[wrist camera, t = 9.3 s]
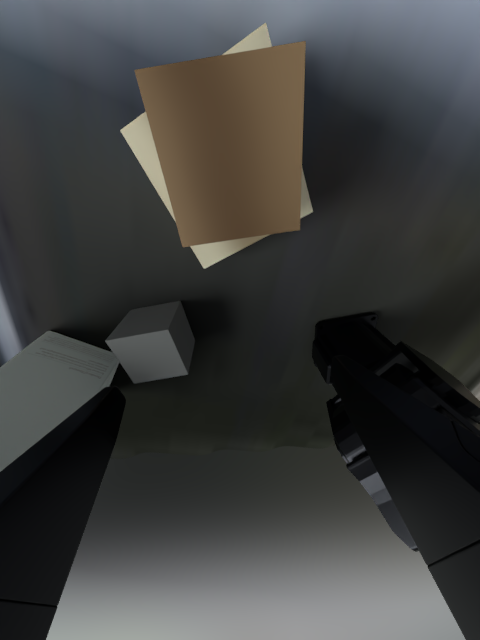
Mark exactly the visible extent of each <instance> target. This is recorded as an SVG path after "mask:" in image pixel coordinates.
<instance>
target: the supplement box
mask: <svg viewBox="0 0 480 640" xmlns="http://www.w3.org/2000/svg"><path fill="white" fill-rule="evenodd" d="M118 364H119V361H118V359H117V358H116V356H115V355H114V353H112V352H110V351H107V350H104V349H101V348H98V347H96V346H93V345H90V344H87V343H85V342H82V341H79V340H76V339H73V338H70V337H67V336H64V335H62V334H59V333H55V332H52V331H47V332H46V333H44V334H43V335H42V336H40V337H39V338H38V339H36V340H35V341H34V342H32V343H31V344H30V345H29V346H27V347H26V348H25V349H23V350H22V351H21V352H20V353H18V354H17V355H16V356H14V357H13V358H12V359H11V360H9V361H8V362H7V363H5V364H4V365H3V366H1V367H0V472H1V471H2V470H3V469H4V468H6V467H7V466H8V465H9V464H10V463H12V462H13V461H14V460H15V459H17V458H18V457H19V456H20V455H22V454H23V453H24V452H25V451H27V450H28V449H29V448H30V447H32V446H33V445H34V444H35V443H36V442H38V441H39V440H40V439H41V438H43V437H44V436H45V435H46V434H48V433H49V432H50V431H51V430H53V429H54V428H55V427H56V426H57V425H59V424H60V423H61V422H62V421H64V420H65V419H66V418H67V417H69V416H70V415H71V414H72V413H74V412H75V411H76V410H77V409H79V408H80V407H81V406H82V405H83V404H85V403H86V402H87V401H88V400H90V399H91V398H92V397H93V396H95V395H96V394H97V393H98V392H100V391H101V390H102V389H103V388H105V387H109V386H110V384H111V381H112V379H113V377H114V374H115V372H116V369H117V367H118Z"/></svg>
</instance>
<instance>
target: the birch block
mask: <svg viewBox="0 0 480 640" xmlns="http://www.w3.org/2000/svg"><path fill="white" fill-rule="evenodd" d="M267 47H272V45H271V41H270V37H269V33H268V29H267V25H266V23H265V24H263V25H262V26H260V27H259V28H258V29H256V30H255V31H254V32H252V33H251V34H250V35H248V36H247V37H246V38H244V39H243V40H242V41H240V42H239V43H238V44H236V45H235V46H233V47H232V48H231V49H229V50H228V51H227V52H225V53H224V54H223V55H226V54H232V53H238V52H244V51H250V50H256V49H262V48H267ZM120 131H121V133H122V134H123V136H124V138H125V139H126V141H127V143H128V144H129V146H130V148H131V149H132V151H133V153H134V154H135V156H136V157H137V159H138V161H139V162H140V164H141V166H142V167H143V169H144V171H145V172H146V174H147V176H148V177H149V179H150V181H151V182H152V184H153V185H154V187H155V189H156V190H157V192H158V194H159V195H160V197H161V199H162V200H163V202H164V204H165V205H166V207H167V209H168V210H169V212H170V214H171V215H172V217H173V218H174V220H175V217H174V213H173V209H172V206H171V202H170V198H169V195H168V191H167V187H166V184H165V180H164V176H163V173H162V169H161V165H160V162H159V158H158V154H157V151H156V147H155V143H154V140H153V136H152V132H151V129H150V125H149V121H148V118H147V114H146V112H144V113H143V114H142V115H140V116H139V117H138V118H136V119H135V120H134V121H132V122H131V123H130V124H128V125H127V126H126V127H124V128H123V129H121V130H120ZM312 212H313V209H312V205H311V201H310V197H309V193H308V189H307V185H306V181H305V177H304V173H303V169H302V179H301V212H300V219H301V218H302V217H304V216H306V215H308V214H310V213H312ZM175 222H176V220H175ZM269 235H270V234H269ZM266 236H268V235H262V236H255V237H248V238H242V239H235V240H228V241H221V242H215V243H208V244H201V245H194V246H191V248H192V250H193V251H194V253H195V255H196V256H197V258H198V260H199V261H200V263H201V265H202V266H203V268H204V269H205V268H207V267H209V266H211V265H213V264H215V263H216V262H218V261H220V260H222V259H224V258H226V257H228V256H230V255H232V254H234V253H236V252H237V251H239V250H241V249H243V248H245V247H247V246H249V245H251V244H253V243H255V242H257V241H258V240H260V239H262V238H264V237H266Z"/></svg>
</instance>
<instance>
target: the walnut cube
mask: <svg viewBox="0 0 480 640" xmlns="http://www.w3.org/2000/svg"><path fill="white" fill-rule="evenodd" d="M305 46H306V41H303V42H297V43H291V44H285V45H279V46H273V47H267V48H262V49H256V50H250V51H244V52H238V53H232V54H226V55H220V56H214V57H208V58H202V59H196V60H191V61H185V62H179V63H173V64H167V65H161V66H155V67H149V68H143V69H137V70H135V74H136V77H137V81H138V85H139V88H140V92H141V96H142V99H143V103H144V107H145V110H146V114H147V118H148V121H149V125H150V129H151V132H152V136H153V140H154V143H155V147H156V151H157V154H158V158H159V162H160V165H161V169H162V173H163V176H164V180H165V184H166V187H167V191H168V195H169V198H170V202H171V206H172V209H173V213H174V217H175V220H176V224H177V228H178V231H179V235H180V239H181V242H182V246H183V247H188V246H194V245H201V244H208V243H215V242H221V241H228V240H235V239H242V238H248V237H255V236H262V235H269V234H275V233H282V232H289V231H296V230H300V212H301V179H302V146H303V113H304V79H305Z"/></svg>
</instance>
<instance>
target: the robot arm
mask: <svg viewBox="0 0 480 640" xmlns="http://www.w3.org/2000/svg"><path fill="white" fill-rule="evenodd" d="M372 317H373V318H372ZM377 320H378V316H377V315H376V314H375V313H367V314H362V315H356V316H350V317H345V318H339V319H333V320H328V321H322V322H318V323H317V324H316V326H315V340H314V341H313V349H312V358H313V360H314V364H315V366H316V367H318V369H319V371H320V373H321V375H322V376H323V378H324V380H325V382H326V383H327V384H328V385H330V384H332V385H333V387H334V388H335V390H336V392H337V394H338V395H336V396H335V397H334V398H333V399H330V400H329V401H327V402H326V403H327V408H328V413H329V417H330V422H331V427H332V432H333V436H334V440H335V444H336V446H337V449H338V451H339V452H340V453H341V456H342V457H343V459H344V460H345V461H346V463H347V468H348V470H349V471H351V473H352V474H353V475H354V476H355V477H356V478H357V479H358V480H359V481H360V483H361V484H362V485H363V486H364V488H365V489H366V490H367V491H368V493H369V494H370V496H371V497H372V499H373V500H374V502H375V503H376V505H377V506H378V508H379V510H380V511H381V513H382V515H383V516H384V518H385V519H386V521H387V523H388V524H389V526H390V527H391V529H392V531H393V532H394V533H395V534H396V535H397V536H398V537H399V538H400V539H401V540H402V541H403V542H404V543H405V544H407V545H408V546H409V547H410V548H411V549H412V550H414V551H420V553H421V555H422V557H423V559H424V561H425V563H426V564H427V565H428V569H429V571H430V572H431V574H432V576H433V578H434V580H435V582H436V584H437V586H438V588H439V590H440V591H441V593H442V595H443V597H444V599H445V601H446V603H447V605H448V607H449V609H450V610H451V612H452V614H453V616H454V618H455V620H456V622H457V624H458V626H459V628H460V629H461V631H462V633H463V635H464V637H465V639H466V640H480V401H479V400H478V399H477V398H476V397H475V396H474V395H473V394H472V393H471V392H470V391H469V390H468V389H467V388H466V387H465V386H464V385H463V384H462V383H461V382H460V381H459V380H458V379H456V378H455V377H454V376H452V375H451V374H450V373H448V372H447V371H446V370H445V369H443V368H442V367H441V366H439V365H438V364H437V363H435V362H434V361H433V360H431V359H429V358H428V357H426V356H424V355H423V354H421V353H420V352H418V351H416V350H415V349H413V348H411V347H410V346H408V345H406V344H405V343H403V342H399V343H398V344H397V345H396V346H395V345H394V344H393V343H392V342H390V341H389V340H388V339H387V338H386V337H385V336H384V335H382V334H381V333H380V332H379V331H378V330H377V329H376V324H377ZM320 326H322V327H320ZM125 403H126V399H125V397H124V395H123V394H122V392H121V391H120V390H119V388H118V387H117V386H109V387H105V388H103V389H102V390H101V391H100V392H98V393H97V394H96V395H95V396H93V397H92V398H91V399H90V400H88V401H87V402H86V403H85V404H83V405H82V406H81V407H80V408H79V409H77V410H76V411H75V412H74V413H72V414H71V415H70V416H69V417H67V418H66V419H65V420H64V421H62V422H61V423H60V424H59V425H57V426H56V427H55V428H54V429H53V430H51V431H50V432H49V433H48V434H46V435H45V436H44V437H43V438H41V439H40V440H39V441H38V442H36V443H35V444H34V445H33V446H32V447H30V448H29V449H28V450H27V451H25V452H24V453H23V454H22V455H20V456H19V457H18V458H17V459H15V460H14V461H13V462H12V463H10V464H9V465H8V466H7V467H6V468H4V469H3V470H2V471H1V472H0V640H46V638H47V634H48V632H49V629H50V626H51V623H52V621H53V618H54V615H55V612H56V609H57V605H58V603H59V601H60V597H61V595H62V592H63V589H64V586H65V583H66V581H67V578H68V575H69V572H70V570H71V566H72V564H73V561H74V558H75V555H76V553H77V550H78V547H79V544H80V541H81V538H82V536H83V533H84V530H85V527H86V524H87V521H88V519H89V515H90V513H91V510H92V507H93V505H94V502H95V499H96V496H97V493H98V491H99V488H100V485H101V482H102V479H103V476H104V474H105V471H106V468H107V465H108V462H109V460H110V457H111V454H112V451H113V448H114V445H115V442H116V439H117V435H118V431H119V428H120V424H121V420H122V416H123V412H124V408H125Z"/></svg>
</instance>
